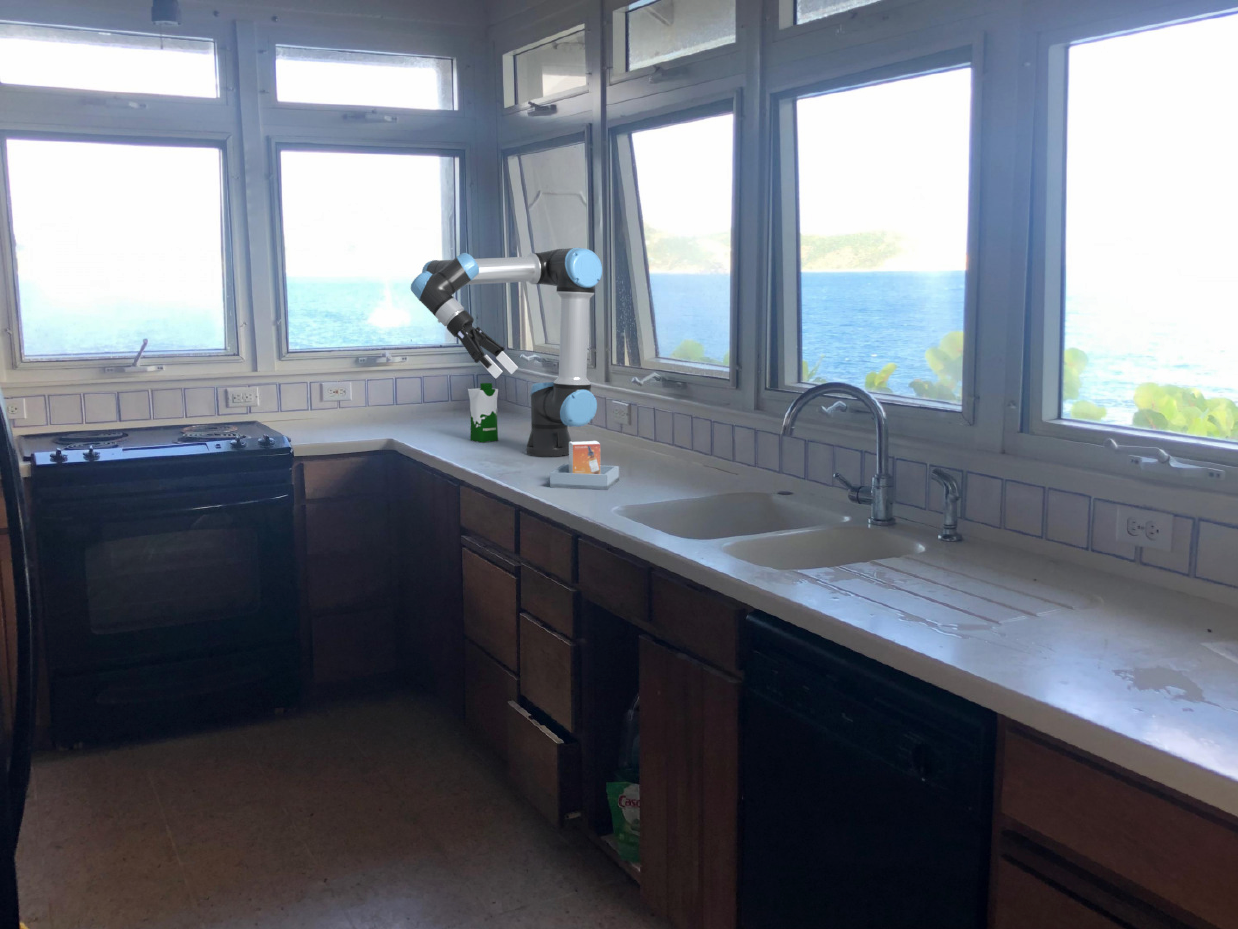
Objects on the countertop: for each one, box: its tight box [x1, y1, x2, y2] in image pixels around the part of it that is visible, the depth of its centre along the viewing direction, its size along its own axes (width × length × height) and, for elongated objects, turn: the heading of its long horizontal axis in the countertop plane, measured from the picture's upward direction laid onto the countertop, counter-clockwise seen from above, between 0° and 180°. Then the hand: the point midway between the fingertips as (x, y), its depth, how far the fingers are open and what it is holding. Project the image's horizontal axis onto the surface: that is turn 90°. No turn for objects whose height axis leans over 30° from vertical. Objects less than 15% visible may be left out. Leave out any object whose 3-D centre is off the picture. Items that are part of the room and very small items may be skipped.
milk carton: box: [467, 382, 499, 443], centre depth 373 cm, size 9×9×20 cm
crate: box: [549, 463, 620, 491], centre depth 298 cm, size 14×16×4 cm
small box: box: [568, 440, 601, 474], centre depth 297 cm, size 8×6×10 cm
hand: (507, 373), depth 303 cm, fingers open, 13 cm apart
